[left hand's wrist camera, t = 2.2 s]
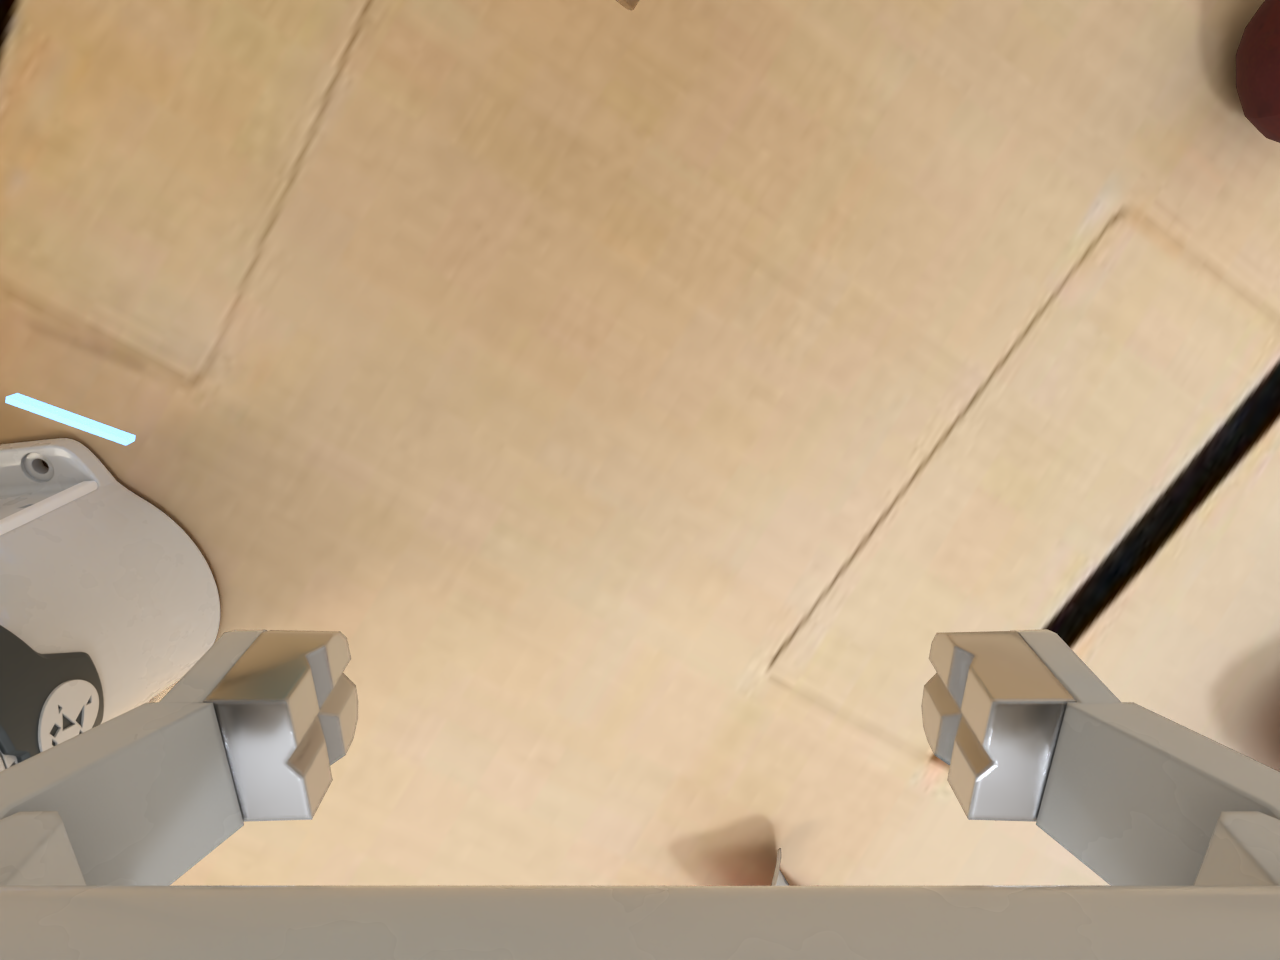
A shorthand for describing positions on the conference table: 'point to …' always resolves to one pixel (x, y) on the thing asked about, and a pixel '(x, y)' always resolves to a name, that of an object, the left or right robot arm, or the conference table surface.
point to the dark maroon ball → (1261, 70)
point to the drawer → (628, 3)
